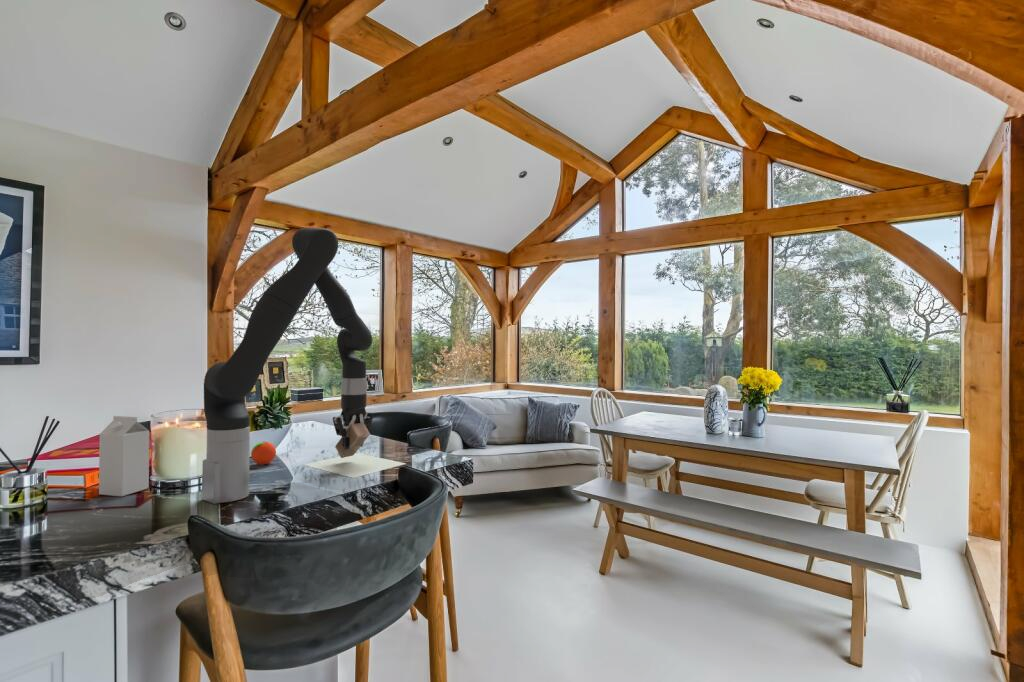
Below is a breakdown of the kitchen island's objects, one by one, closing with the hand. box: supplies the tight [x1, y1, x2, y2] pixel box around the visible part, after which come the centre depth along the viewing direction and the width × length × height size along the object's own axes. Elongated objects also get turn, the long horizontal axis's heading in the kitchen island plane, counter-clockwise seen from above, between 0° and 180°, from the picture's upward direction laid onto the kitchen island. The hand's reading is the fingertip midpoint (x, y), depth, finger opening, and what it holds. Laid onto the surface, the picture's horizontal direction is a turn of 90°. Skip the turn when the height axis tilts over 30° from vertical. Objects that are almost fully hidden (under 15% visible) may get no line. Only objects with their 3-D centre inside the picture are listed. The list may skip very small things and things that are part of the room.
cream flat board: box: [303, 452, 407, 479], centre depth 153 cm, size 20×24×1 cm
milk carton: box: [98, 415, 150, 497], centre depth 125 cm, size 7×7×19 cm
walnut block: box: [334, 422, 371, 458], centre depth 154 cm, size 4×4×11 cm
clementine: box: [250, 441, 277, 466], centre depth 154 cm, size 8×7×7 cm
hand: (353, 447), depth 154 cm, fingers closed on walnut block, 4 cm apart
